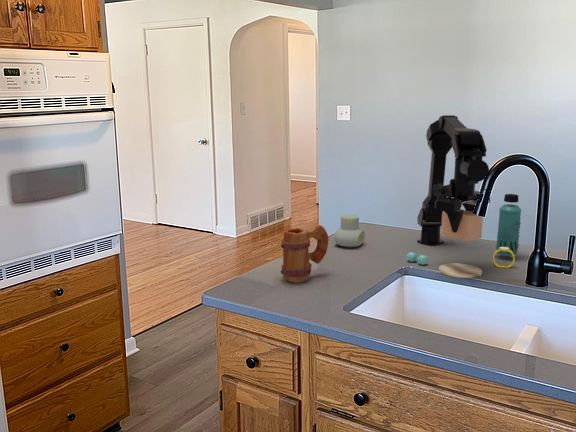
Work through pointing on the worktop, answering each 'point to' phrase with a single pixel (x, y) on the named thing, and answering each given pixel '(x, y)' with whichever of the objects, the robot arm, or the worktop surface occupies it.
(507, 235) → the beverage bottle
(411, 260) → the marble
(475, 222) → the salmon pink block
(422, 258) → the marble
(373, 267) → the worktop surface
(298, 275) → the mug
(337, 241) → the air freshener
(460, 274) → the coaster
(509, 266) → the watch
